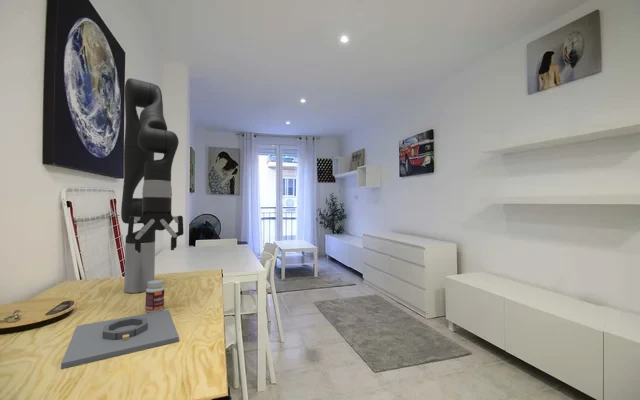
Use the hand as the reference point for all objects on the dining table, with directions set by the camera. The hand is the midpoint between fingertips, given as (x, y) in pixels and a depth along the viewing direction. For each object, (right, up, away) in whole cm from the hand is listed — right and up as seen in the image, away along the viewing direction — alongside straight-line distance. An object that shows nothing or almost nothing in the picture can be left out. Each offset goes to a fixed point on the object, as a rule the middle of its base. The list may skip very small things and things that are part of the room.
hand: (156, 251), depth 84 cm
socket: (+3, -17, -17) cm, 24 cm away
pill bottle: (0, -18, 0) cm, 18 cm away
